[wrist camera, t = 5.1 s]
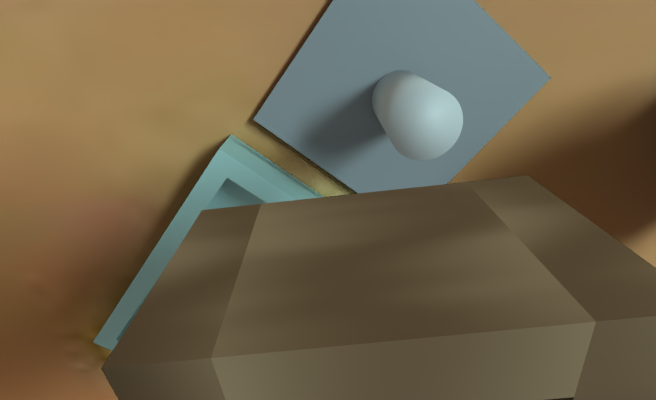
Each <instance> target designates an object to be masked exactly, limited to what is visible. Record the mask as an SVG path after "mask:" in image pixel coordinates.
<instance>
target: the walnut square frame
mask: <svg viewBox="0 0 656 400" xmlns="http://www.w3.org/2000/svg"><path fill="white" fill-rule="evenodd" d="M101 369H102V371H103V372H104V374H105V376H106V378H107V380H108V381H109V383H110V385H111V387H112V389H113V390H114V392H115V394H116V396H117V398H118V399H119V400H656V268H655V267H654V266H652V265H651V264H650V263H648V262H647V261H646V260H644V259H643V258H641V257H640V256H639V255H637V254H636V253H634V252H633V251H632V250H630V249H629V248H628V247H626V246H625V245H623V244H622V243H621V242H619V241H618V240H616V239H615V238H614V237H612V236H611V235H610V234H608V233H607V232H605V231H604V230H603V229H601V228H600V227H598V226H597V225H596V224H594V223H593V222H592V221H590V220H589V219H587V218H586V217H585V216H583V215H582V214H581V213H579V212H578V211H576V210H575V209H574V208H572V207H571V206H569V205H568V204H567V203H565V202H564V201H563V200H561V199H560V198H558V197H557V196H556V195H554V194H553V193H551V192H550V191H549V190H547V189H546V188H545V187H543V186H542V185H540V184H539V183H538V182H536V181H535V180H533V179H532V178H531V177H529V176H528V175H527V176H517V177H508V178H499V179H489V180H480V181H470V182H461V183H452V184H442V185H433V186H423V187H414V188H405V189H395V190H386V191H377V192H367V193H358V194H348V195H339V196H330V197H320V198H311V199H302V200H292V201H283V202H273V203H264V204H255V205H245V206H236V207H226V208H217V209H208V210H202V211H201V212H200V214H199V216H198V217H197V219H196V220H195V222H194V223H193V225H192V227H191V228H190V230H189V231H188V233H187V234H186V236H185V238H184V239H183V241H182V242H181V244H180V245H179V247H178V249H177V250H176V252H175V253H174V255H173V256H172V258H171V260H170V261H169V263H168V264H167V266H166V267H165V269H164V271H163V272H162V274H161V275H160V277H159V278H158V280H157V282H156V283H155V285H154V286H153V288H152V289H151V291H150V293H149V294H148V296H147V297H146V299H145V301H144V302H143V304H142V305H141V307H140V308H139V310H138V312H137V313H136V315H135V316H134V318H133V319H132V321H131V323H130V324H129V326H128V327H127V329H126V330H125V332H124V334H123V335H122V337H121V338H120V340H119V341H118V343H117V345H116V346H115V348H114V349H113V351H112V352H111V354H110V356H109V357H108V359H107V360H106V362H105V363H104V365H103V367H102V368H101Z"/></svg>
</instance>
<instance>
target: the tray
mask: <svg viewBox="0 0 656 400" xmlns="http://www.w3.org/2000/svg"><path fill="white" fill-rule="evenodd" d="M320 197H323V196H322V195H320V194H319V193H317V192H316V191H314V190H313V189H311V188H310V187H308V186H307V185H306V184H304V183H303V182H301V181H300V180H298V179H297V178H295V177H294V176H292V175H291V174H289V173H288V172H286V171H285V170H283V169H282V168H280V167H279V166H278V165H276V164H275V163H273V162H272V161H270V160H269V159H267V158H266V157H264V156H263V155H261V154H260V153H258V152H257V151H255V150H254V149H252V148H251V147H249V146H248V145H247V144H245V143H244V142H242V141H241V140H239V139H238V138H236V137H235V136H233V135H232V134H231V135H230V136H229V138H228V139H227V140H226V141H225V142H224V143H223V145H222V146H221V147H220V148H219V150H218V151H217V153H216V154H215V156H214V157H213V159H212V160H211V162H210V163H209V165H208V166H207V168H206V169H205V171H204V173H203V174H202V176H201V177H200V179H199V180H198V182H197V183H196V185H195V186H194V188H193V189H192V191H191V192H190V194H189V196H188V197H187V199H186V200H185V202H184V203H183V205H182V206H181V208H180V209H179V211H178V212H177V214H176V216H175V217H174V219H173V220H172V222H171V223H170V225H169V226H168V228H167V229H166V231H165V232H164V234H163V235H162V237H161V239H160V240H159V242H158V243H157V245H156V246H155V248H154V249H153V251H152V252H151V254H150V255H149V257H148V258H147V260H146V262H145V263H144V265H143V266H142V268H141V269H140V271H139V272H138V274H137V275H136V277H135V278H134V280H133V282H132V283H131V285H130V286H129V288H128V289H127V291H126V292H125V294H124V295H123V297H122V298H121V300H120V301H119V303H118V305H117V306H116V308H115V309H114V311H113V312H112V314H111V315H110V317H109V318H108V320H107V321H106V323H105V324H104V326H103V328H102V329H101V331H100V332H99V334H98V335H97V337H96V338H95V340H94V341H93V343H95V344H97V345H100V346H102V347H104V348H106V349H109V350H111V351H113V349H114V348H115V346H116V345H117V343H118V341H119V340H120V338H121V337H122V335H123V334H124V332H125V330H126V329H127V327H128V326H129V324H130V323H131V321H132V319H133V318H134V316H135V315H136V313H137V312H138V310H139V308H140V307H141V305H142V304H143V302H144V301H145V299H146V297H147V296H148V294H149V293H150V291H151V289H152V288H153V286H154V285H155V283H156V282H157V280H158V278H159V277H160V275H161V274H162V272H163V271H164V269H165V267H166V266H167V264H168V263H169V261H170V260H171V258H172V256H173V255H174V253H175V252H176V250H177V249H178V247H179V245H180V244H181V242H182V241H183V239H184V238H185V236H186V234H187V233H188V231H189V230H190V228H191V227H192V225H193V223H194V222H195V220H196V219H197V217H198V216H199V214H200V212H201V211H202V210H208V209H217V208H226V207H236V206H245V205H255V204H264V203H273V202H283V201H292V200H302V199H311V198H320Z"/></svg>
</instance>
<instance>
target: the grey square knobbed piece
mask: <svg viewBox="0 0 656 400" xmlns="http://www.w3.org/2000/svg"><path fill="white" fill-rule="evenodd" d="M550 78H551V77H550V76H549V75H548V74H547V73H546V72H545V71H544V70H543V69H542V68H541V67H540V66H539V65H538V64H537V63H536V62H535V61H534V60H533V59H532V58H531V57H530V56H529V55H528V54H527V53H526V52H525V51H524V50H523V49H522V48H521V47H520V46H519V45H518V44H517V43H516V42H515V41H514V40H513V39H512V38H511V37H510V36H509V35H508V34H507V33H506V32H505V31H504V30H503V29H502V28H501V27H500V26H499V25H498V24H497V23H496V22H495V21H494V20H493V19H492V18H491V17H490V16H489V15H488V14H487V13H486V12H485V11H484V10H483V9H482V8H481V7H480V6H479V5H478V4H477V3H476V2H475V1H474V0H333V1H332V3H331V4H330V6H329V7H328V9H327V10H326V12H325V13H324V15H323V16H322V18H321V19H320V21H319V22H318V24H317V25H316V27H315V28H314V30H313V31H312V33H311V34H310V35H309V37H308V38H307V40H306V41H305V43H304V44H303V46H302V47H301V49H300V50H299V52H298V53H297V55H296V56H295V58H294V59H293V61H292V62H291V64H290V65H289V67H288V68H287V70H286V71H285V73H284V74H283V76H282V77H281V79H280V80H279V82H278V83H277V85H276V86H275V88H274V89H273V91H272V92H271V94H270V95H269V97H268V98H267V100H266V101H265V103H264V104H263V106H262V107H261V109H260V110H259V112H258V113H257V115H256V116H255V118H254V119H253V120H255V121H256V122H258V123H259V124H260V125H262V126H263V127H265V128H266V129H267V130H269V131H270V132H272V133H273V134H275V135H276V136H277V137H279V138H280V139H282V140H283V141H284V142H286V143H287V144H289V145H290V146H292V147H293V148H294V149H296V150H297V151H299V152H300V153H302V154H303V155H304V156H306V157H307V158H309V159H310V160H311V161H313V162H314V163H316V164H317V165H319V166H320V167H321V168H323V169H324V170H326V171H327V172H329V173H330V174H331V175H333V176H334V177H336V178H337V179H338V180H340V181H341V182H343V183H344V184H346V185H347V186H348V187H350V188H351V189H353V190H354V191H355V192H357V193H367V192H377V191H386V190H395V189H405V188H414V187H423V186H433V185H442V184H447V183H448V182H449V181H450V180H451V179H452V178H453V177H454V176H455V175H456V174H457V173H458V172H459V171H460V170H461V169H462V168H463V167H464V166H465V165H466V164H467V163H468V162H469V161H470V160H471V159H472V158H473V157H474V156H475V155H476V154H477V153H478V152H479V151H480V150H481V149H482V148H483V147H484V146H485V145H486V144H487V143H488V142H489V141H490V140H491V138H492V137H493V136H494V135H495V134H496V133H497V132H498V131H499V130H500V129H501V128H502V127H503V126H504V125H505V124H506V123H507V122H508V121H509V120H510V119H511V118H512V117H513V116H514V115H515V114H516V113H517V112H518V111H519V110H520V109H521V108H522V107H523V106H524V105H525V104H526V103H527V102H528V101H529V100H530V99H531V98H532V97H533V96H534V95H535V94H536V93H537V91H538V90H539V89H540V88H541V87H542V86H543V85H544V84H545V83H546V82H547V81H548V80H549V79H550Z"/></svg>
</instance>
